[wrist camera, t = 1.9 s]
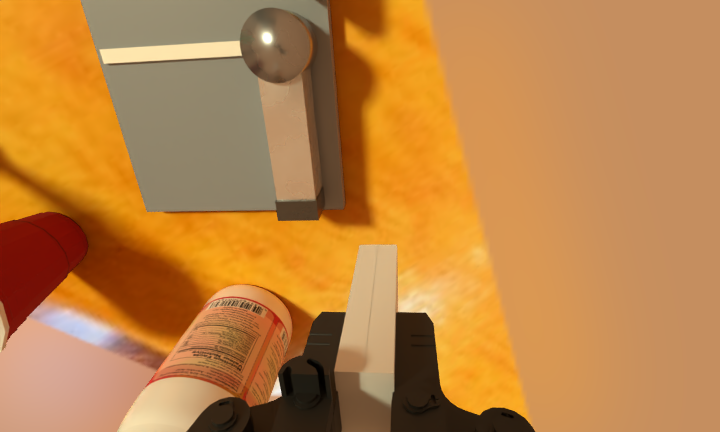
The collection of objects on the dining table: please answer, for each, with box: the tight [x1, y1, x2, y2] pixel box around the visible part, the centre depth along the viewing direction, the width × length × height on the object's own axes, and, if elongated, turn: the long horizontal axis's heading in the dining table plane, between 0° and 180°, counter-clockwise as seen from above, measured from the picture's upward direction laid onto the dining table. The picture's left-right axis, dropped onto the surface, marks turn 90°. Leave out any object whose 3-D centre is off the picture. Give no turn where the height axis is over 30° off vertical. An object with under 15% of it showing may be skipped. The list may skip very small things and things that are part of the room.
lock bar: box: [240, 8, 325, 221], centre depth 28 cm, size 14×4×3 cm, turn 3°
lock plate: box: [81, 0, 345, 212], centre depth 27 cm, size 26×18×5 cm
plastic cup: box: [0, 212, 88, 352], centre depth 33 cm, size 11×11×12 cm
